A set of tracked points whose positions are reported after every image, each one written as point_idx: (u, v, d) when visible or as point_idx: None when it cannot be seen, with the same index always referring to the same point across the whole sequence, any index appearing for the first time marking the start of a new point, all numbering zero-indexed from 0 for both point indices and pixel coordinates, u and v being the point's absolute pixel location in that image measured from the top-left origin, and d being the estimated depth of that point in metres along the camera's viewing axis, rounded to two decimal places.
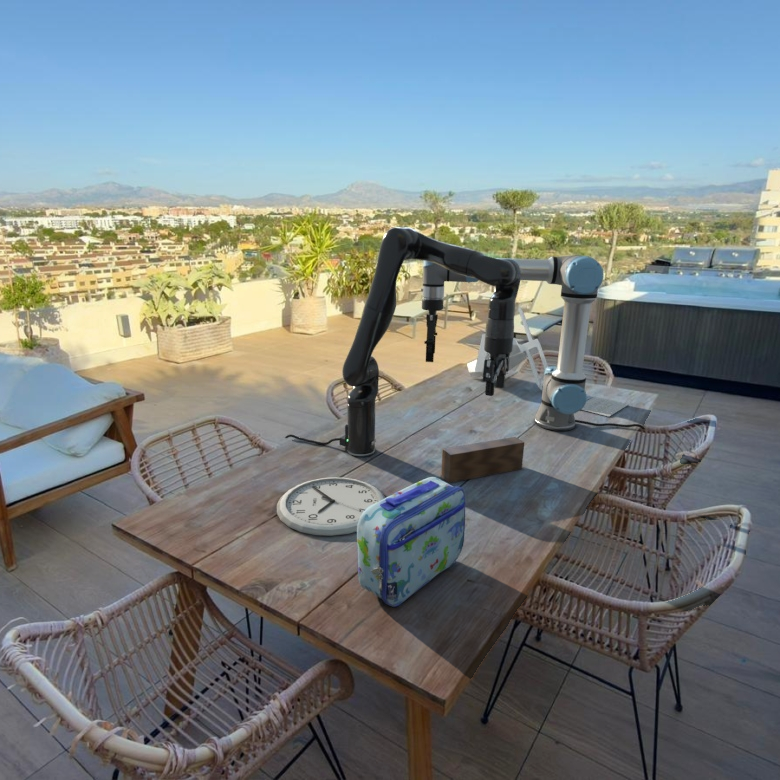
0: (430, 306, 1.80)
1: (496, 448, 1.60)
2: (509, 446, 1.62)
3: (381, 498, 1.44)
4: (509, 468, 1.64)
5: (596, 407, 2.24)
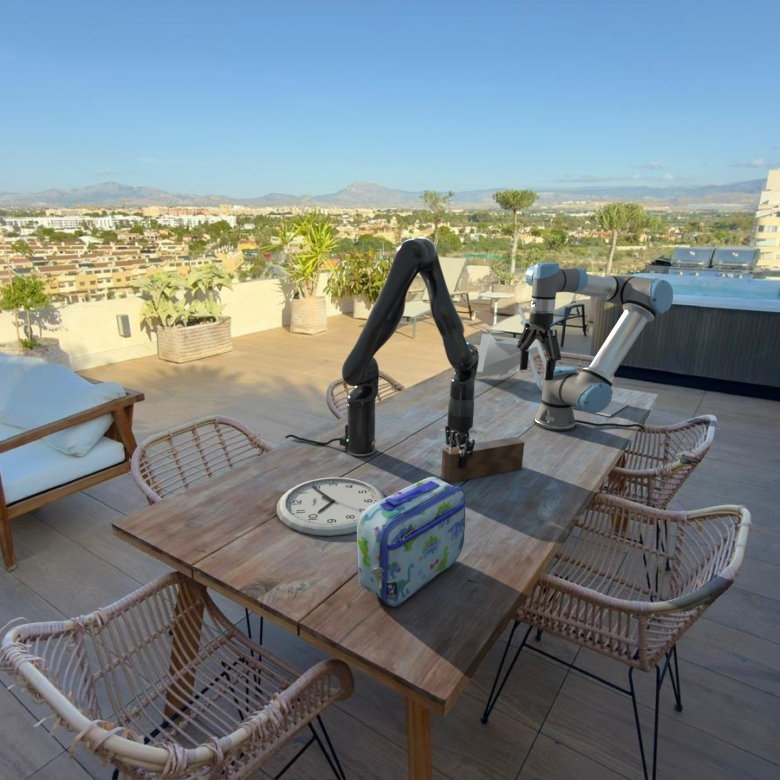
0: (547, 321, 1.67)
1: (496, 448, 1.60)
2: (509, 446, 1.62)
3: (381, 498, 1.44)
4: (509, 468, 1.64)
5: None
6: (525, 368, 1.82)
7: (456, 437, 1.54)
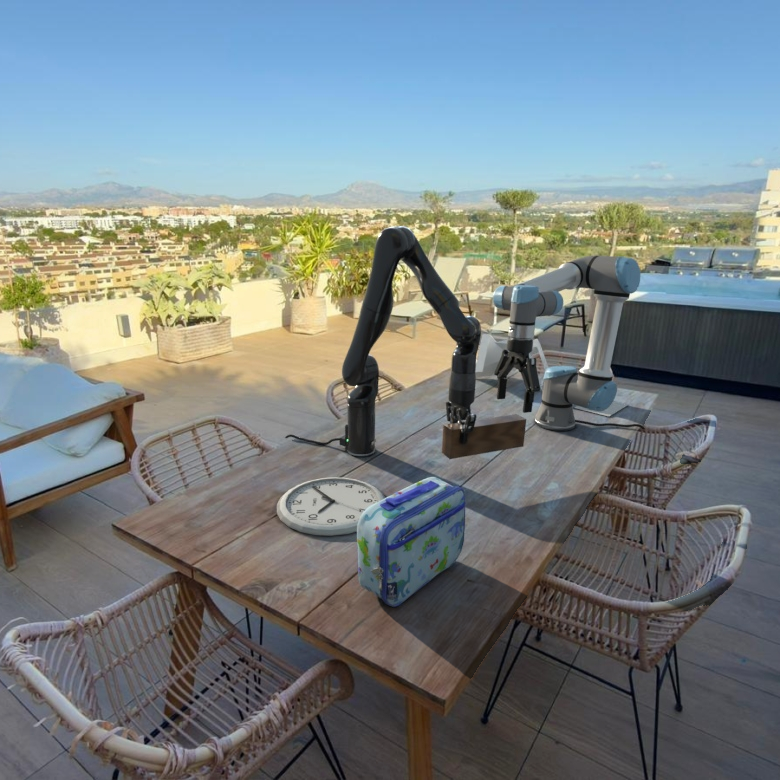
0: (526, 348, 1.54)
1: (498, 424, 1.58)
2: (511, 423, 1.60)
3: (381, 498, 1.44)
4: (511, 445, 1.62)
5: None
6: (503, 397, 1.68)
7: (457, 412, 1.52)
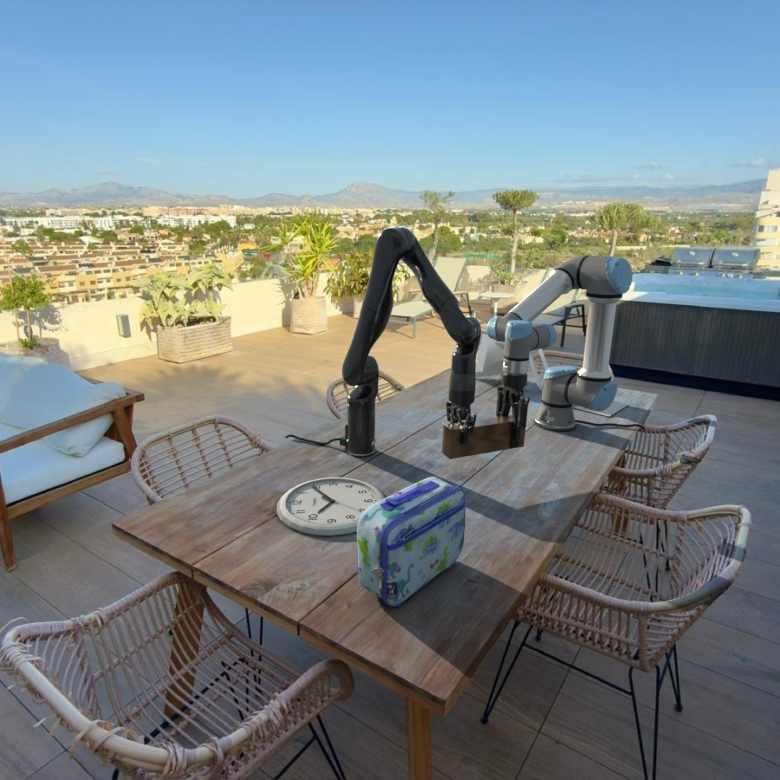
0: (520, 383, 1.55)
1: (498, 424, 1.58)
2: (511, 423, 1.59)
3: (381, 498, 1.44)
4: None
5: None
6: None
7: (457, 412, 1.51)
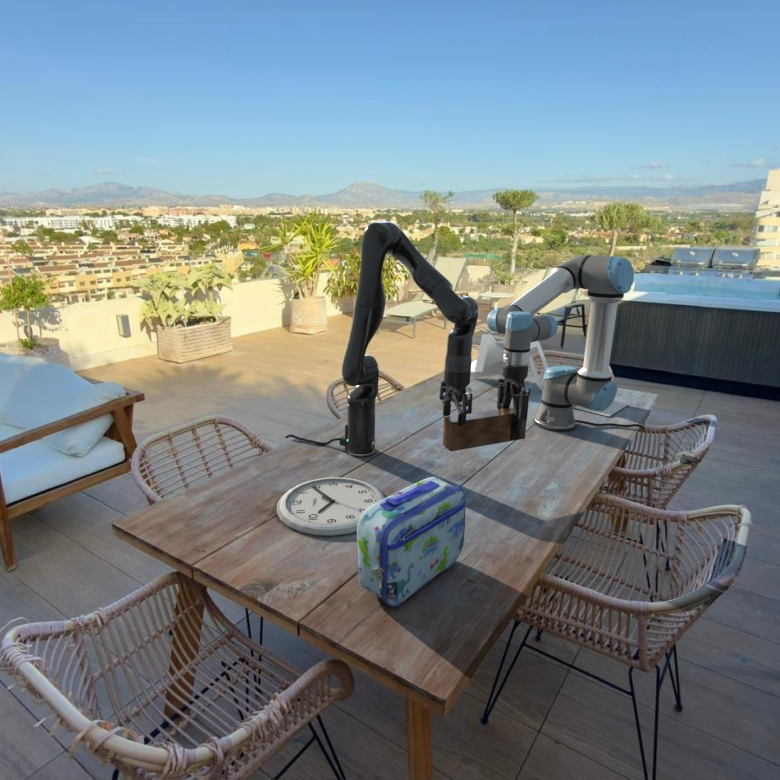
0: (521, 375, 1.54)
1: (499, 416, 1.57)
2: (512, 415, 1.59)
3: (381, 498, 1.44)
4: None
5: None
6: None
7: (452, 394, 1.49)
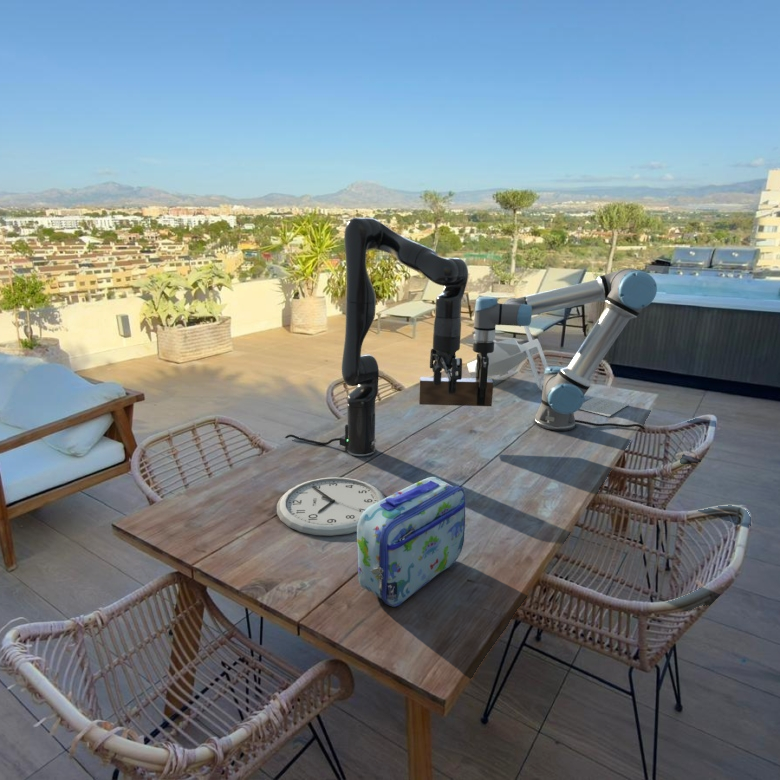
0: (483, 349, 1.84)
1: (464, 383, 1.90)
2: (477, 383, 1.90)
3: (381, 498, 1.44)
4: None
5: (596, 407, 2.24)
6: None
7: (442, 360, 1.44)
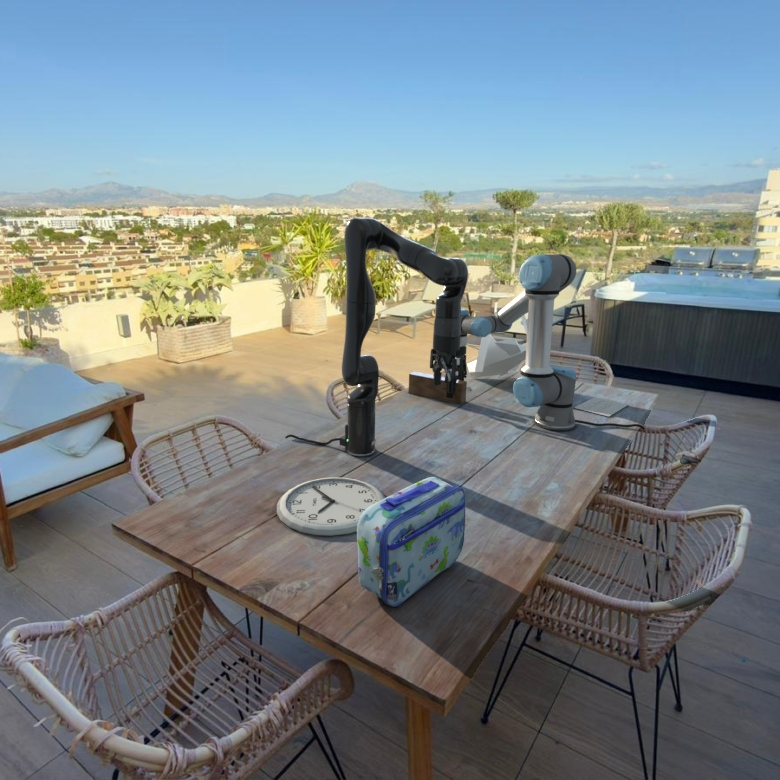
0: None
1: None
2: None
3: (381, 498, 1.44)
4: (450, 399, 2.29)
5: (596, 407, 2.24)
6: None
7: (442, 360, 1.44)
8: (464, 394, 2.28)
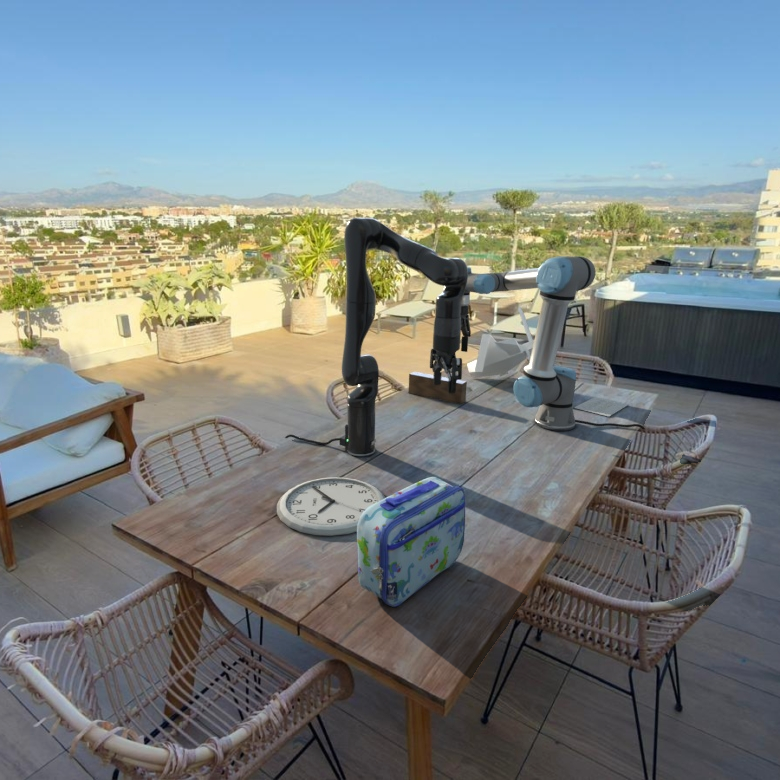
0: None
1: None
2: None
3: (381, 498, 1.44)
4: (450, 399, 2.29)
5: (596, 407, 2.24)
6: (465, 350, 2.29)
7: (442, 360, 1.44)
8: (464, 394, 2.28)
